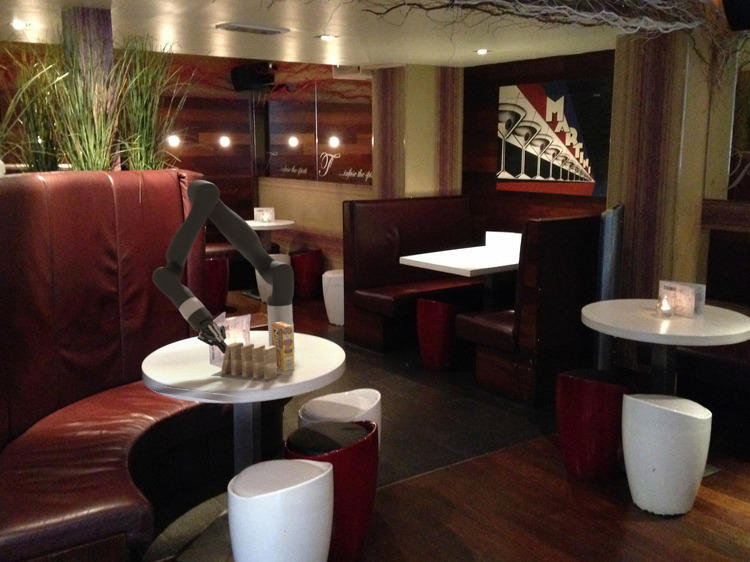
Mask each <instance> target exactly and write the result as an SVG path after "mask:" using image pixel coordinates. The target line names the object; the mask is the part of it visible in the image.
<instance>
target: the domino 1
mask: <svg viewBox="0 0 750 562" xmlns="http://www.w3.org/2000/svg"><path fill="white" fill-rule="evenodd" d="M237 343H238V342H237V341H235V342H231V343H230V344H227V347H226V351H225V354H224V356H223V361H222V366H221V369H220V371H221V373H223V374H227V373H229V372H231V345H234V344H237Z"/></svg>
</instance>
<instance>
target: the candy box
mask: <svg viewBox="0 0 750 562" xmlns="http://www.w3.org/2000/svg"><path fill="white" fill-rule="evenodd" d="M271 327H272V346H276V357H277V368H279V369H281V370H283V371H288V370H294V369H295V354H294V352H295V351H294V347H293V329H292V326H291V325H289V324H286V323H284V322H275V323H271Z"/></svg>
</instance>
